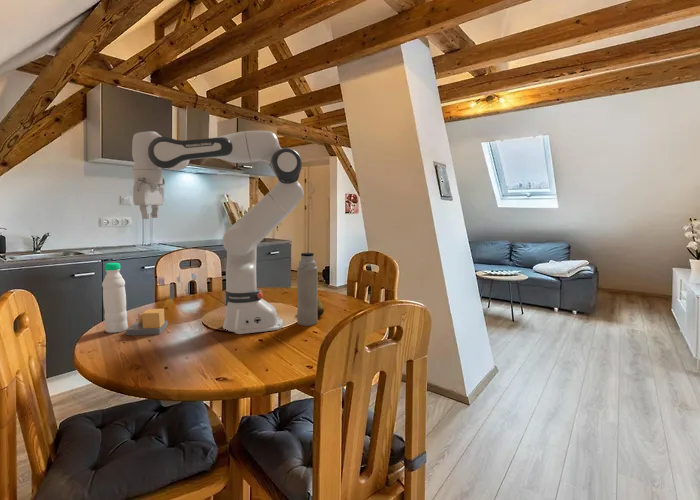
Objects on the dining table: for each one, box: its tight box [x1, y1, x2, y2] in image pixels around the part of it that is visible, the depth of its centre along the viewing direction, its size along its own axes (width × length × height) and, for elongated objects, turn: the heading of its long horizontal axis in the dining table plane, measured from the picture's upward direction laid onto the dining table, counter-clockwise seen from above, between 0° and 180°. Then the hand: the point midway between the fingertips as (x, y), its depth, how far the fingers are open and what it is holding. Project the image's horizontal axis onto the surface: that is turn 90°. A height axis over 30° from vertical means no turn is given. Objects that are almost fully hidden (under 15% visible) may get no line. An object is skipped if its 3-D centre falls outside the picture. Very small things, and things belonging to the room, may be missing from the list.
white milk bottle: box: [101, 262, 129, 334], centre depth 136 cm, size 7×7×25 cm
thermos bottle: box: [296, 252, 319, 326], centre depth 148 cm, size 8×8×28 cm
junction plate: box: [125, 312, 169, 336], centre depth 137 cm, size 11×10×6 cm
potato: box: [317, 298, 325, 318], centre depth 160 cm, size 8×13×8 cm, turn 14°
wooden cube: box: [142, 308, 165, 328], centre depth 137 cm, size 6×6×6 cm
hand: (150, 218), depth 133 cm, fingers open, 8 cm apart
